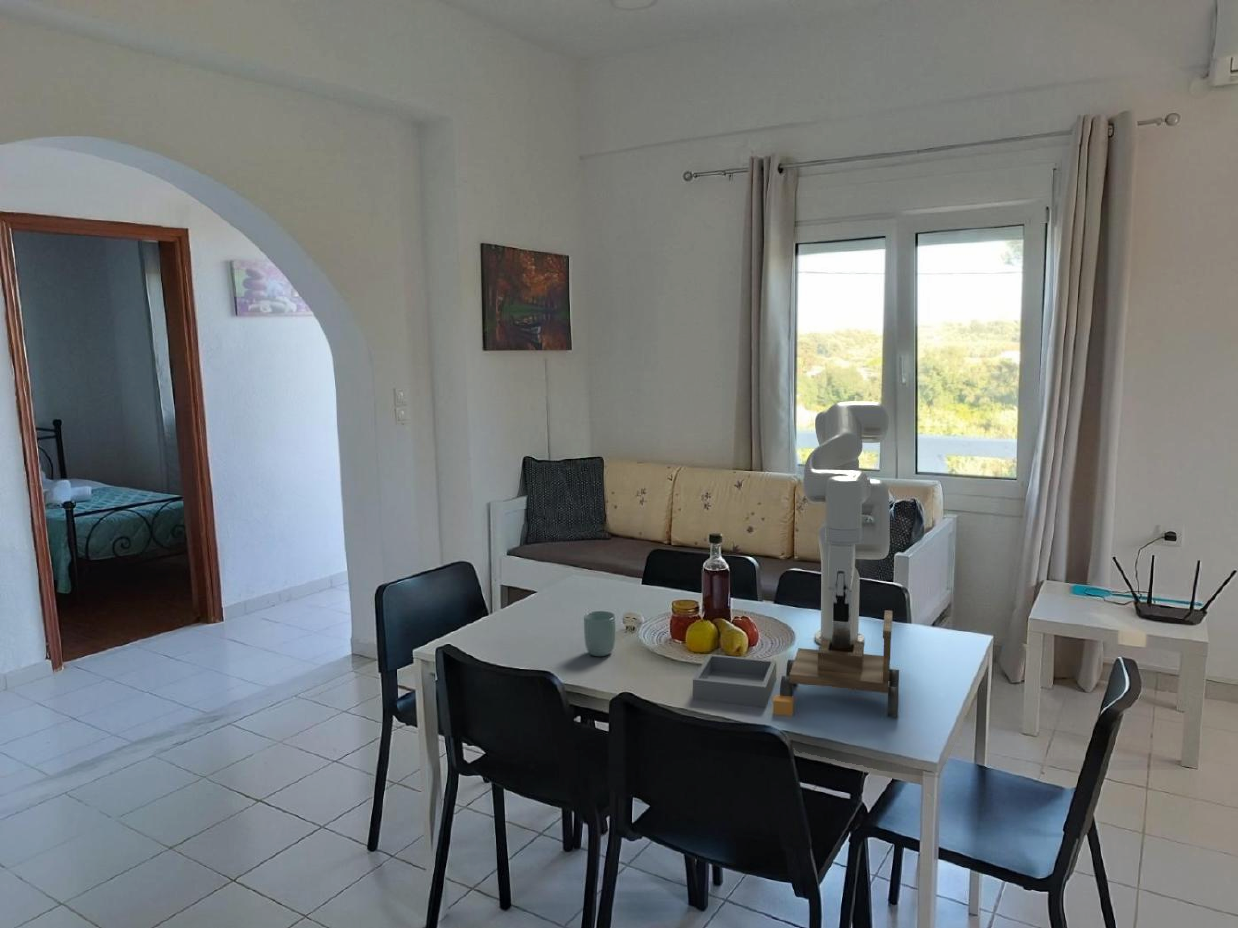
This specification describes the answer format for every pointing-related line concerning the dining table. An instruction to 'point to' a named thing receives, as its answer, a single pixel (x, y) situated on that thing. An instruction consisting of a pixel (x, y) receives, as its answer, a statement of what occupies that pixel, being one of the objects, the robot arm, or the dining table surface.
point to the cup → (599, 632)
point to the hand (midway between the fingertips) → (841, 616)
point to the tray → (735, 680)
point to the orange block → (783, 705)
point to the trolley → (846, 668)
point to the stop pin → (842, 627)
